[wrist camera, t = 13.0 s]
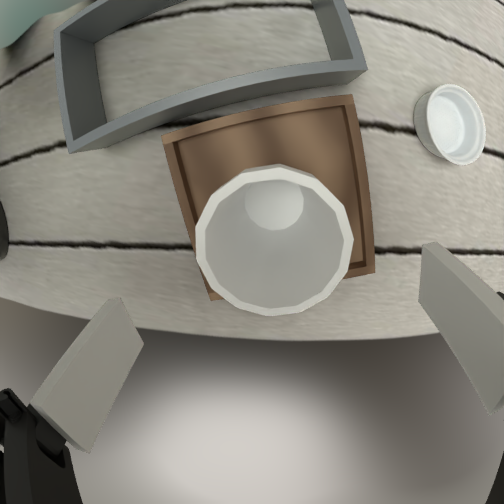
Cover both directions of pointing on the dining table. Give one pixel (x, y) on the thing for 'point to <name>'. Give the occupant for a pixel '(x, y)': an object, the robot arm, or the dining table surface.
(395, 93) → the dining table surface
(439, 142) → the ramekin
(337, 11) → the deep open rectangular frame
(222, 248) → the foam cup
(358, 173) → the walnut tray
